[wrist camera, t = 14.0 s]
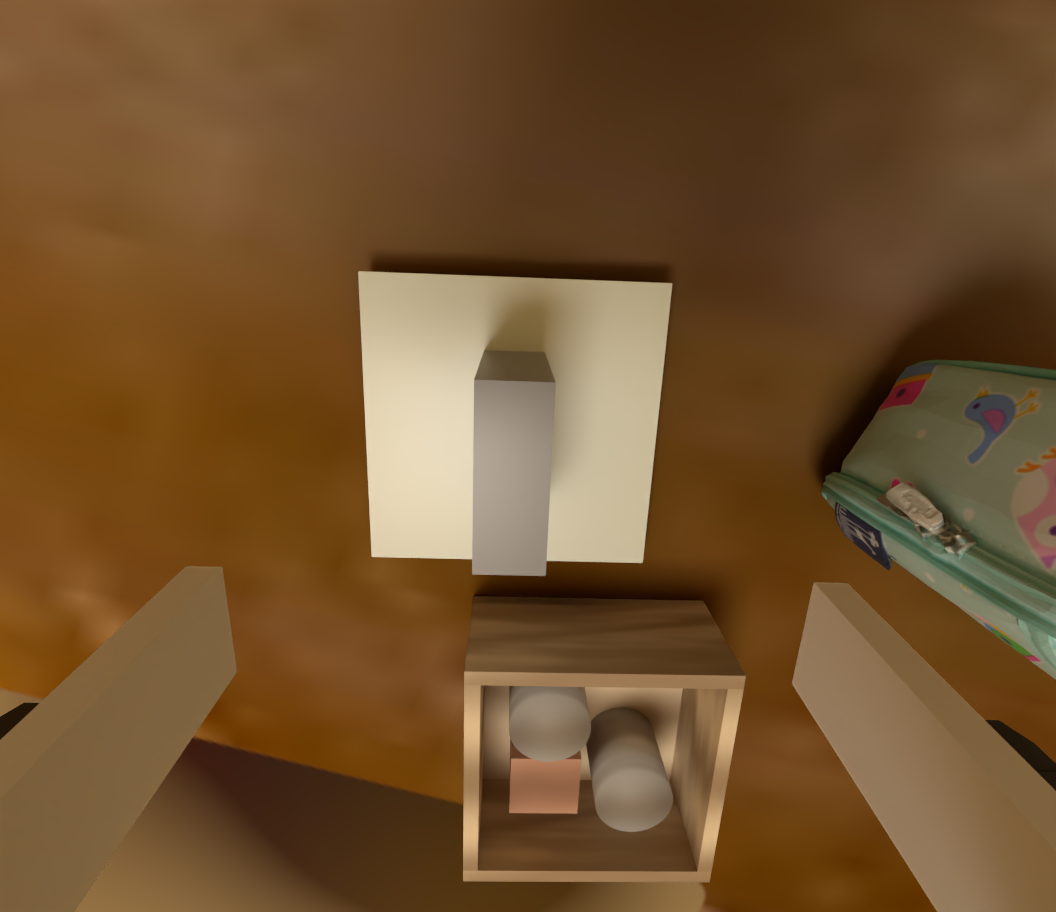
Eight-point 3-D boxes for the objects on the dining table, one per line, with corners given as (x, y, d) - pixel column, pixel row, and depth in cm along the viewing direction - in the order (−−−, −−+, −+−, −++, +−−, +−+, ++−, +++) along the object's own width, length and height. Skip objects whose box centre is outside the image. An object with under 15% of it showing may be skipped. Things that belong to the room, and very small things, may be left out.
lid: (368, 271, 30) (300, 273, 21) (662, 282, 31) (729, 289, 21) (379, 540, 35) (329, 645, 25) (635, 546, 35) (681, 651, 26)
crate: (473, 596, 36) (464, 671, 29) (703, 600, 36) (746, 676, 30) (471, 778, 40) (463, 881, 33) (677, 780, 41) (709, 882, 34)
